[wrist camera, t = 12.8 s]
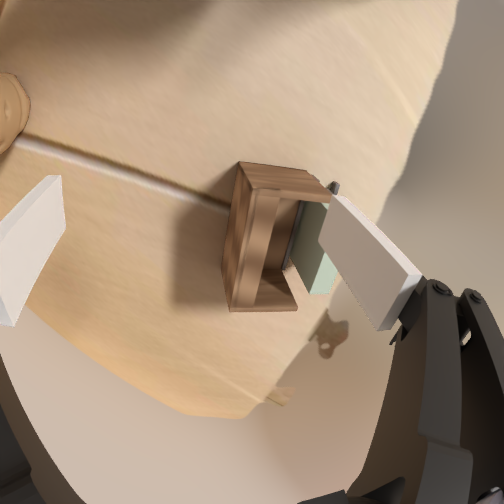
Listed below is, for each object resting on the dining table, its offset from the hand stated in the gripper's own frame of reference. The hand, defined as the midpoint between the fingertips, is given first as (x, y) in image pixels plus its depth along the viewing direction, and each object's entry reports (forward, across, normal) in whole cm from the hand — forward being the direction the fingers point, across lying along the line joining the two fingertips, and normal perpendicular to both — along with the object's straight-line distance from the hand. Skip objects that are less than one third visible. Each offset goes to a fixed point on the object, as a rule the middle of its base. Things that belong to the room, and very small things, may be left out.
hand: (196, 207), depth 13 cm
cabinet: (+27, +15, -14) cm, 34 cm away
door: (+27, +20, -14) cm, 36 cm away
